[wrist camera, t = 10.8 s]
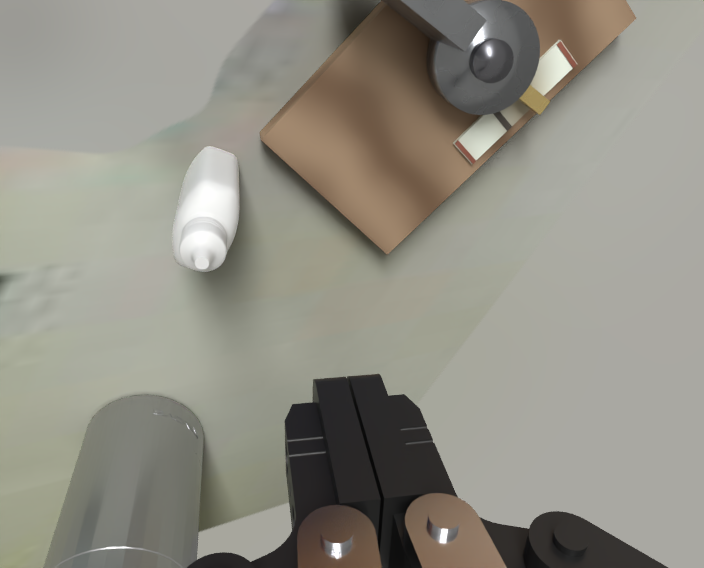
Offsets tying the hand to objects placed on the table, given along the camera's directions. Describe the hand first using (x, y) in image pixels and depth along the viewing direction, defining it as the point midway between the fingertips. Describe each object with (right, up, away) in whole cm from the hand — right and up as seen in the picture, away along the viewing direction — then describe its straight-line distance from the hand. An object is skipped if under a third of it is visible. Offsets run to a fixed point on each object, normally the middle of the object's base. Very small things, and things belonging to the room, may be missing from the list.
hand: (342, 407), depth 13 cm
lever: (+6, +18, +22) cm, 29 cm away
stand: (+6, +17, +26) cm, 31 cm away
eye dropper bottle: (-9, +10, +27) cm, 30 cm away
